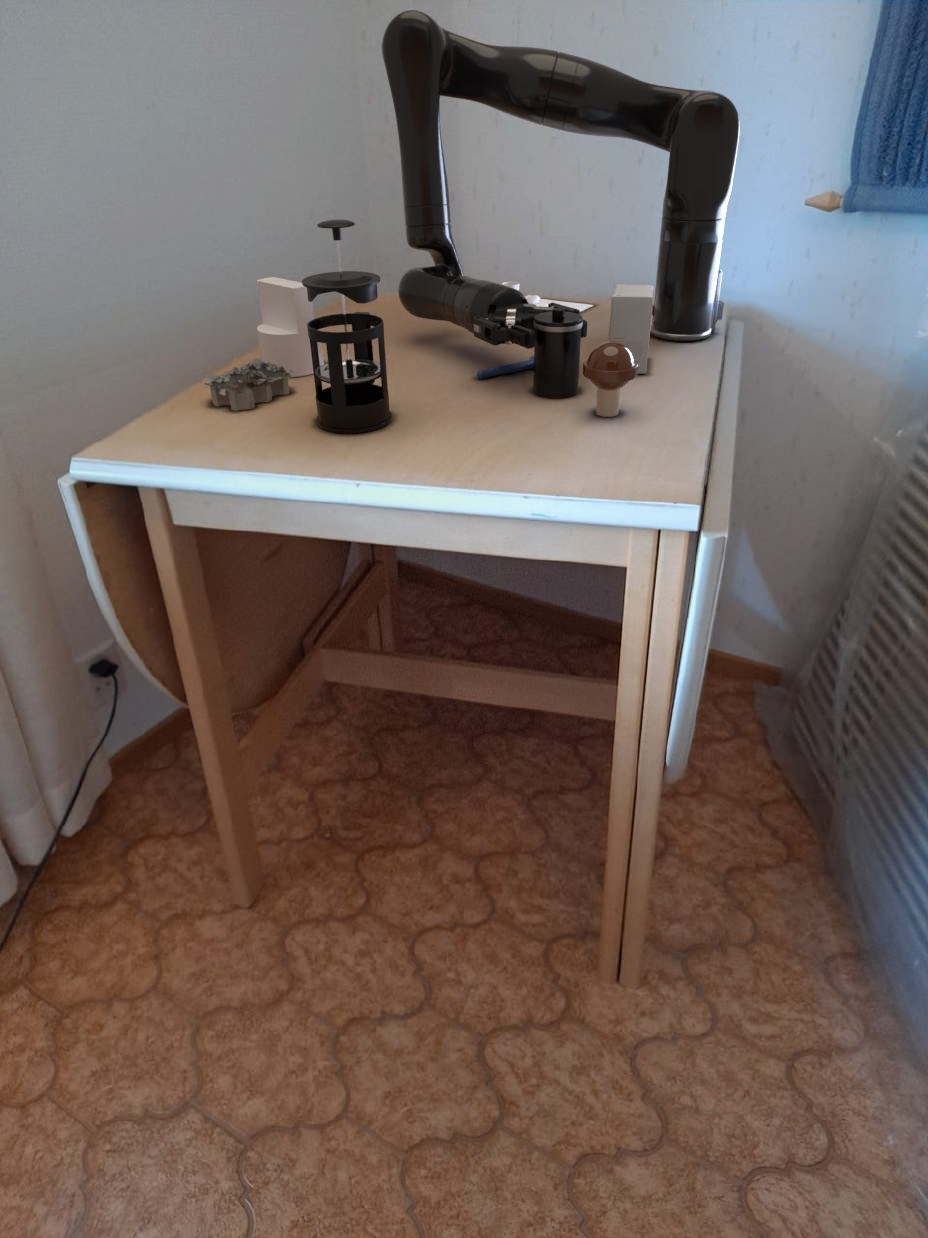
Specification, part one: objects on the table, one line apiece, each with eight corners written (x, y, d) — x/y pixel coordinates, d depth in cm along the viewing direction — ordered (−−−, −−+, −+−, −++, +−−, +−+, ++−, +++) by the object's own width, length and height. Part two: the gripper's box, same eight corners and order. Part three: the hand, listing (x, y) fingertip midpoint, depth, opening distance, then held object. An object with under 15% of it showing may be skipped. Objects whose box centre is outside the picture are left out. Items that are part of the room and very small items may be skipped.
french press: (376, 438, 103) (359, 229, 90) (303, 433, 105) (276, 227, 92) (405, 405, 112) (393, 212, 100) (337, 401, 114) (317, 211, 102)
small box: (646, 375, 121) (653, 297, 115) (605, 373, 122) (611, 295, 116) (647, 358, 127) (654, 283, 122) (609, 357, 128) (614, 283, 123)
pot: (560, 380, 120) (563, 300, 114) (588, 392, 115) (593, 310, 109) (522, 389, 117) (524, 307, 111) (550, 401, 112) (553, 317, 107)
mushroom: (610, 400, 112) (615, 332, 108) (644, 415, 108) (651, 343, 103) (570, 410, 109) (573, 340, 105) (603, 426, 105) (608, 353, 100)
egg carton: (240, 414, 111) (235, 383, 109) (202, 403, 115) (196, 373, 113) (299, 391, 118) (296, 361, 116) (262, 381, 122) (257, 352, 120)
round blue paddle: (547, 358, 129) (547, 350, 128) (565, 365, 125) (565, 357, 125) (469, 375, 123) (469, 367, 122) (486, 383, 119) (486, 374, 119)
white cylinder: (250, 369, 127) (237, 283, 121) (299, 355, 133) (288, 272, 126) (288, 381, 122) (276, 292, 116) (337, 366, 128) (328, 280, 121)
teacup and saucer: (544, 305, 156) (545, 281, 154) (523, 314, 151) (523, 290, 148) (502, 300, 160) (502, 276, 158) (480, 309, 155) (480, 285, 152)
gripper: (446, 290, 118) (514, 313, 107) (531, 276, 125) (603, 296, 113) (448, 345, 123) (514, 373, 111) (530, 329, 129) (600, 354, 117)
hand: (559, 334), depth 112 cm, fingers open, 8 cm apart
